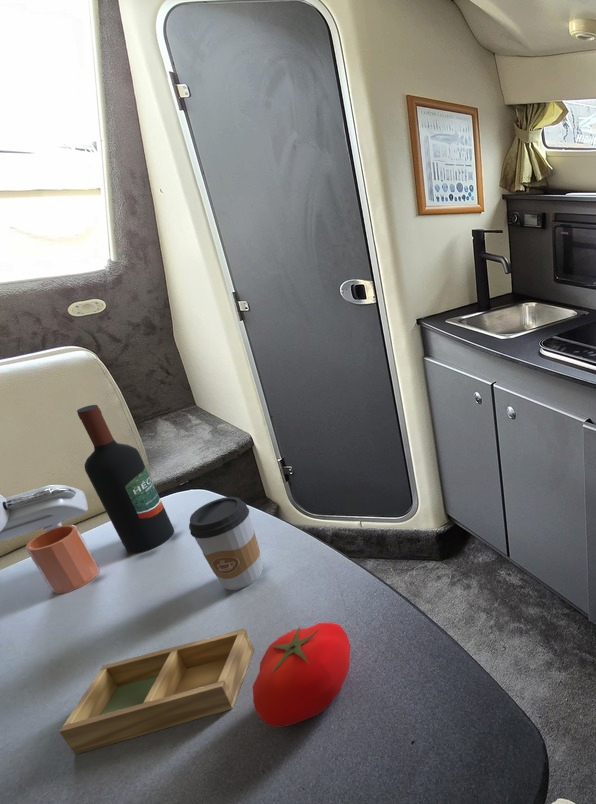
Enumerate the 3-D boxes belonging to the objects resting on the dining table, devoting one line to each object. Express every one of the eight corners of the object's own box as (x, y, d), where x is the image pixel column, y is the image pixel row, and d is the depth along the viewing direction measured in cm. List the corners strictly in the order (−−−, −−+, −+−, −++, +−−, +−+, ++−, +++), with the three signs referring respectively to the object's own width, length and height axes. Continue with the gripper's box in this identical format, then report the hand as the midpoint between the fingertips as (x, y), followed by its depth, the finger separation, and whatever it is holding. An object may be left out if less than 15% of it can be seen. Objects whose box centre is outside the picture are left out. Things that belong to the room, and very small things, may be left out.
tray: (232, 708, 68) (221, 686, 66) (74, 755, 63) (58, 732, 61) (254, 649, 76) (245, 628, 74) (116, 686, 71) (103, 664, 69)
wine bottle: (138, 531, 102) (75, 403, 91) (181, 522, 104) (124, 396, 93) (117, 557, 95) (46, 422, 84) (163, 547, 97) (100, 414, 86)
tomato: (377, 664, 73) (362, 613, 69) (302, 757, 62) (279, 703, 58) (320, 643, 76) (302, 593, 72) (240, 726, 65) (214, 673, 61)
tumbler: (43, 597, 87) (15, 554, 83) (67, 571, 93) (42, 529, 89) (86, 588, 89) (61, 545, 85) (107, 563, 94) (84, 521, 90)
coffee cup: (206, 601, 85) (175, 532, 79) (227, 565, 92) (199, 500, 87) (261, 589, 87) (234, 521, 81) (276, 555, 94) (252, 490, 89)
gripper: (61, 466, 70) (99, 490, 81) (-178, 533, 59) (-96, 550, 70) (69, 506, 69) (107, 525, 80) (-174, 584, 57) (-91, 594, 68)
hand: (11, 538), depth 75 cm, fingers open, 8 cm apart
